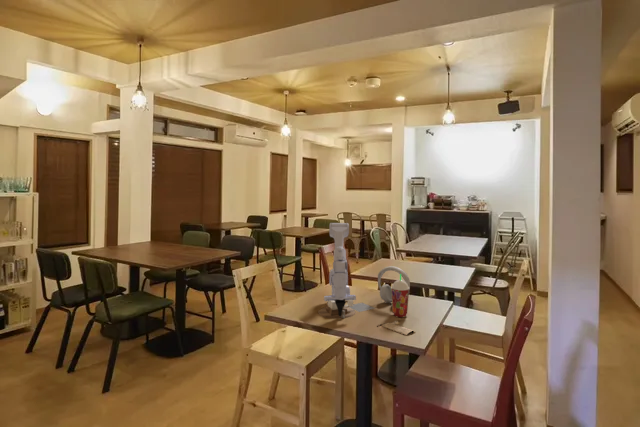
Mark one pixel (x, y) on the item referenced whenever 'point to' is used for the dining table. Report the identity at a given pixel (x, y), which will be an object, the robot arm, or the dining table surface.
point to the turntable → (336, 312)
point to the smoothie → (400, 298)
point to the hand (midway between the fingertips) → (339, 315)
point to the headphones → (386, 289)
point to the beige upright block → (334, 306)
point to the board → (361, 307)
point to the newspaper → (396, 328)
